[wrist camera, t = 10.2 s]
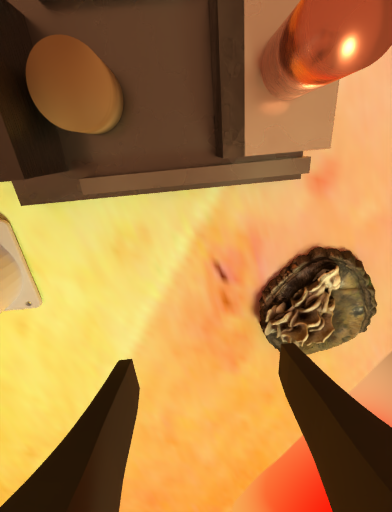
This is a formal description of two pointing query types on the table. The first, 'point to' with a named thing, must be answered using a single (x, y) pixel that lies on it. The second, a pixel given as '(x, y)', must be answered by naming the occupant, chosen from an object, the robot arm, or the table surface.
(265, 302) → the log
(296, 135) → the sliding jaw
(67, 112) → the tan rounded lump
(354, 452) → the robot arm
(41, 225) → the table surface
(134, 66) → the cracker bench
